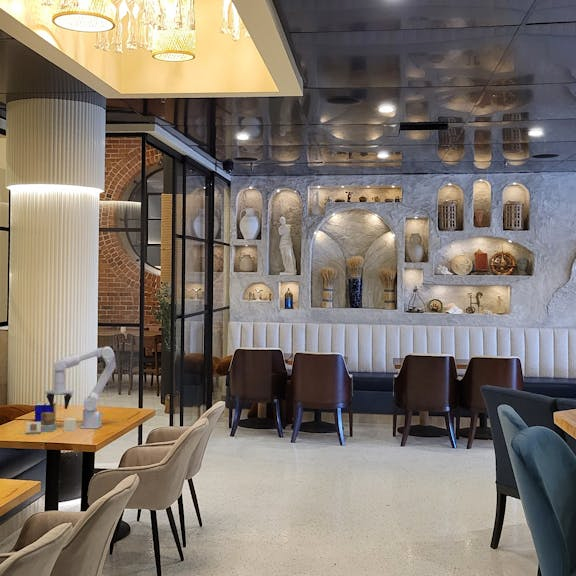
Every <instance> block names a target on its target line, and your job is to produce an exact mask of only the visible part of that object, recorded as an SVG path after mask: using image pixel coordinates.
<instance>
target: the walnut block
mask: <svg viewBox="0 0 576 576" xmlns="http://www.w3.org/2000/svg"><path fill="white" fill-rule="evenodd" d="M55 422H56V420H55V413H52V412H45V413H41V425H46V426H48V425H54V424H55Z"/></svg>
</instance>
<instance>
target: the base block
mask: <svg viewBox="0 0 576 576" xmlns="http://www.w3.org/2000/svg"><path fill="white" fill-rule="evenodd" d="M57 429H58V423H55V424H54V425H48V426H46V425H41V433H52V432H54V431H57Z"/></svg>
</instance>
